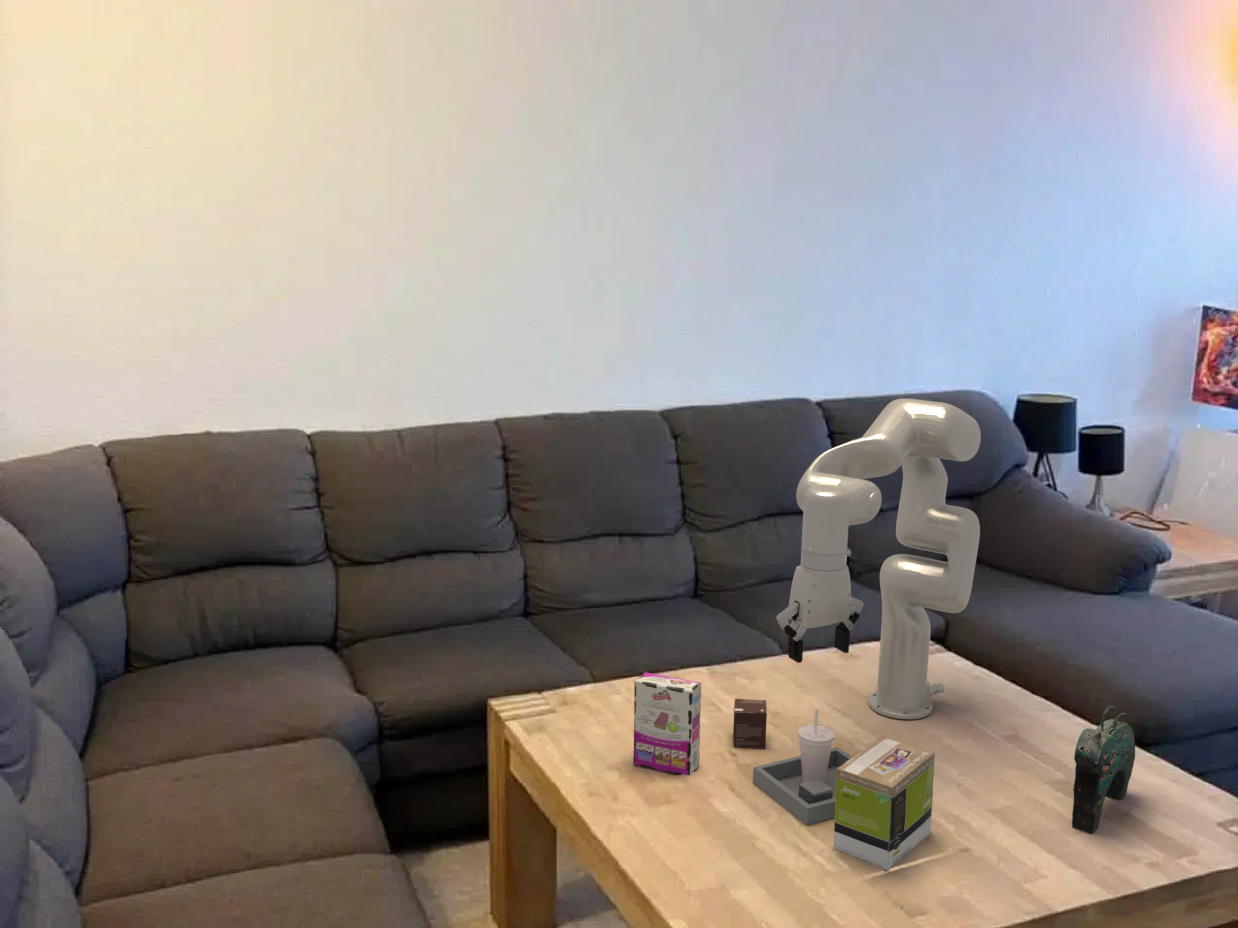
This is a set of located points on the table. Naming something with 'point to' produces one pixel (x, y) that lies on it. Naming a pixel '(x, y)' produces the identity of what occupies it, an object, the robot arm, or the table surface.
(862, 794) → the tea box
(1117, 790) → the green animal figurine
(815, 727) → the smoothie
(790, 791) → the tray
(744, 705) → the box
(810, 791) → the metal block
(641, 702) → the candy bar box
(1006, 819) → the table surface
